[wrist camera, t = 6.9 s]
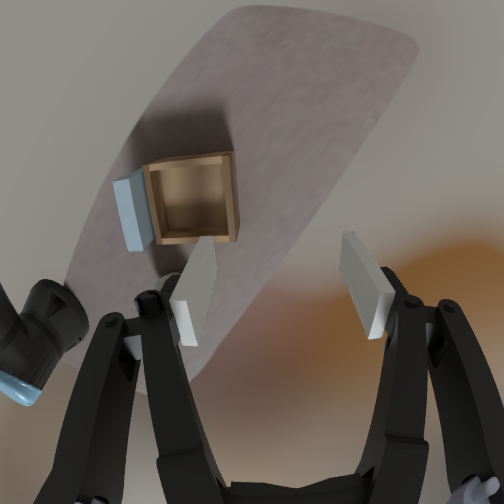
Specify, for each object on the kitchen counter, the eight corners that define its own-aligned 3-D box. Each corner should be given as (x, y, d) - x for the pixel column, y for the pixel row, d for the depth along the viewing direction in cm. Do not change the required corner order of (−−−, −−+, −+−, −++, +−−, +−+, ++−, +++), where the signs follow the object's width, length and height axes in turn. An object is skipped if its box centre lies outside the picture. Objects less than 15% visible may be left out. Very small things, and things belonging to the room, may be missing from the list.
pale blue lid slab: (153, 224, 35) (128, 251, 28) (143, 166, 31) (112, 181, 24) (166, 223, 35) (143, 250, 28) (157, 164, 31) (128, 178, 24)
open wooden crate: (169, 228, 35) (157, 244, 31) (158, 158, 31) (142, 165, 26) (239, 224, 35) (236, 241, 30) (234, 150, 30) (228, 155, 26)
